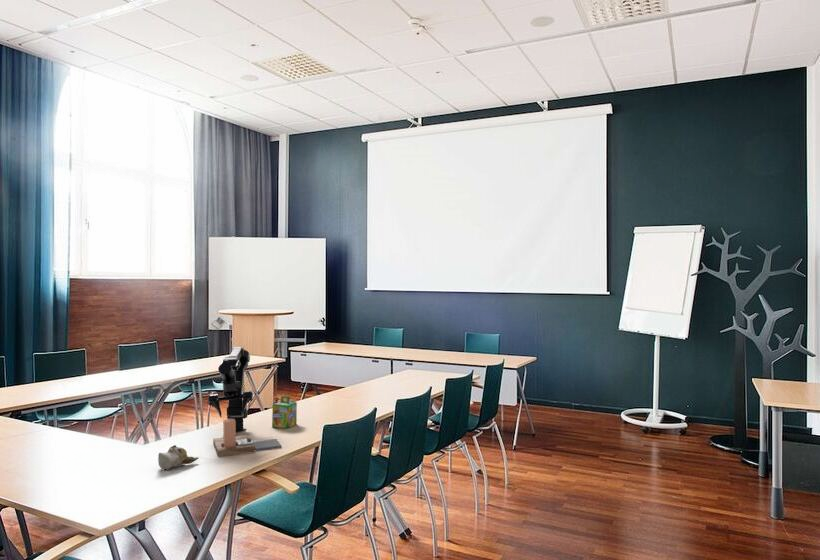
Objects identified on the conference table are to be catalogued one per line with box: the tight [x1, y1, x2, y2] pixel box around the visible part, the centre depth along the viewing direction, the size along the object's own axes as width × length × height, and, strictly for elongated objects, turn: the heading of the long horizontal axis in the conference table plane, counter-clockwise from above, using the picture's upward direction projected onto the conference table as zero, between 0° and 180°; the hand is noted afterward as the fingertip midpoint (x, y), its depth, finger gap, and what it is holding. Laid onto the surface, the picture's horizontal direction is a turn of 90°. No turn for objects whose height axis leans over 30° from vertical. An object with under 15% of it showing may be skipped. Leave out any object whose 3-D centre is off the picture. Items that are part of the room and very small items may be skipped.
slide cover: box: [236, 437, 254, 446], centre depth 250 cm, size 8×6×2 cm
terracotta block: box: [222, 418, 237, 447], centre depth 248 cm, size 4×4×13 cm
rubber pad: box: [252, 438, 282, 452], centre depth 254 cm, size 11×11×1 cm
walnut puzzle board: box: [212, 434, 256, 458], centre depth 251 cm, size 20×15×2 cm
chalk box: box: [271, 395, 298, 430], centre depth 288 cm, size 9×9×15 cm
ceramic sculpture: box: [157, 444, 199, 471], centre depth 227 cm, size 11×9×15 cm
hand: (232, 415), depth 253 cm, fingers open, 9 cm apart
